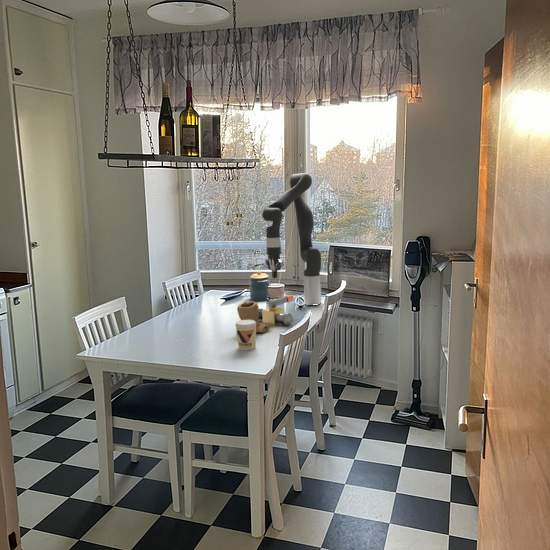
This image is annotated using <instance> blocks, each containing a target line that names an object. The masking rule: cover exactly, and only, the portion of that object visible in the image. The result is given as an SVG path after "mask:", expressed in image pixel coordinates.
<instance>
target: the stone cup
mask: <svg viewBox="0 0 550 550" xmlns="http://www.w3.org/2000/svg"><path fill="white" fill-rule="evenodd" d="M259 308H260V307H259V304H258V303H257V301H253V300H250V301H249V302H247V301H244V302H242V303H240V304H238V305H237V314H238V318H239V319H240V320H254V321H255V322H256V333H266V332H267V331H269V330H270V329H271V327H272V325H270V324H263V323H261V322H259V320H258V317H259Z"/></svg>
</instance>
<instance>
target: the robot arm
mask: <svg viewBox="0 0 550 550" xmlns="http://www.w3.org/2000/svg"><path fill="white" fill-rule="evenodd" d="M312 182H313V178H312V176H311V174H309V173H307V172H303V173H301V172H300V173H294V174H293V173H292V175H291V176H290V178H289V186H290V188H289V189H288V190H286V191H285V192H283V193H281V195H279V197H278V198H276V200H275V201H274V202H272V203H271V204H269V205H268V206H266V207H264V209H263V211H262V214H261V215H262V219H263V220H264V221H266V222H271V223H272V224H271V225H269V226H266V230H265V232H266V233H265V234H266V256H267V259H265V260H264V262H265V264H266V266H267V267H268V270H270V271H271V277H272V279H277V278H278V271H280V270H281V269H282V267H283V264H284V261H282V260H281V256H280V255H281V254H282V249H281V248H282V246H281V245H282V244H281V243H282V241H281V235H280V232H281V231H280V229H281V224H282V219H283V212H285V211H286V209H288V207H290V205H291V204H292V203H293V202H294V210H295V215H296V216H295V217H296V225H297V229H298V237H299V252H300V258H301V261H303V262H304V263H306V268H305V269H304V270H303V289H304V290H303V293H304V294H303V297H304V305H305V304H306V305H305V306H307V305H313V304H320V303H321V304H322V287H321V274H320V273H321V271H322V270H321V268H322V255H321V254H322V253H321V251H320V250H319V249H318V248H315V247H313V241H312V234H313V230H314V217H313V211H312V209H311V208H310V206H309V205H308V203H307V202H306V200H305V198H304V197H303V193H305V192H306V191H308V190H309V189H310V188H311V186H312V184H313V183H312ZM321 304H320V305H321Z"/></svg>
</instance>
